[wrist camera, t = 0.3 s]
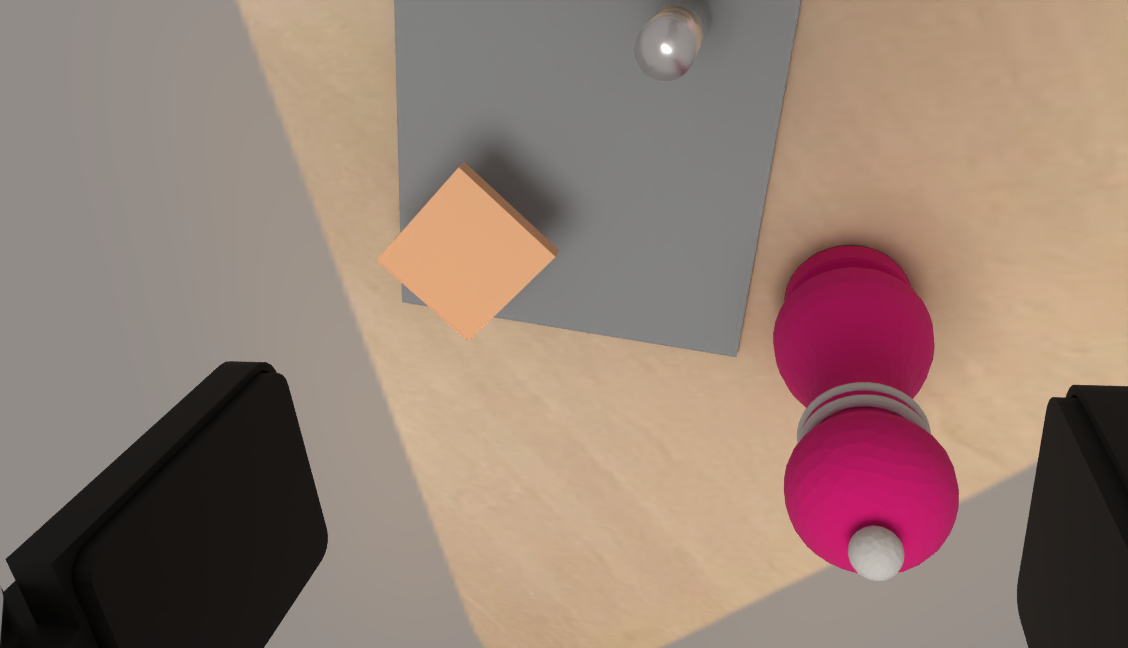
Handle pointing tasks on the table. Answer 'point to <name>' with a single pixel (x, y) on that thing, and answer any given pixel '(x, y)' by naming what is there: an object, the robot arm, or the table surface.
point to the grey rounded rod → (672, 39)
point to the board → (603, 152)
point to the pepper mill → (862, 415)
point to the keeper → (467, 253)
